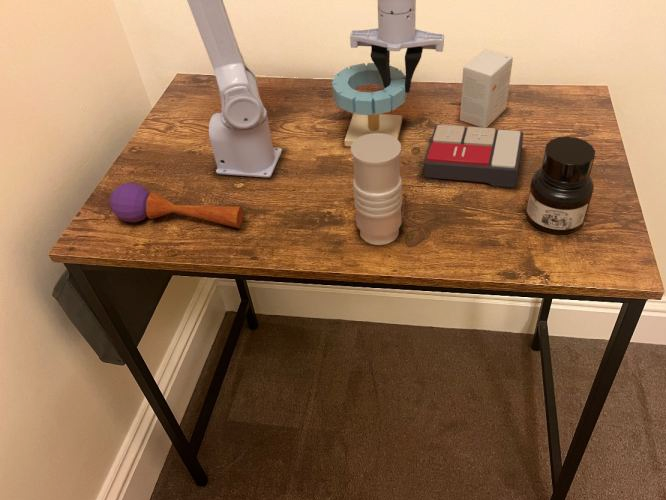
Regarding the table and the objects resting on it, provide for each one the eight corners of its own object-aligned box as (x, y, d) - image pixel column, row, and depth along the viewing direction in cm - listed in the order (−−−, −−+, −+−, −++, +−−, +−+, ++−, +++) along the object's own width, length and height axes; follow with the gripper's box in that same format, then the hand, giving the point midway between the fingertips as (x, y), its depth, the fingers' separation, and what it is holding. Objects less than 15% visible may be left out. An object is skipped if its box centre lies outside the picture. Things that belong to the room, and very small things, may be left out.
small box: (480, 101, 117) (485, 47, 110) (506, 109, 115) (514, 55, 107) (458, 120, 113) (462, 66, 105) (485, 130, 111) (491, 75, 103)
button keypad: (435, 121, 106) (524, 127, 103) (435, 142, 109) (521, 149, 106) (422, 158, 99) (518, 166, 96) (423, 180, 102) (515, 188, 99)
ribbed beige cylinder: (406, 219, 95) (406, 135, 84) (396, 250, 90) (395, 165, 79) (363, 213, 96) (357, 130, 85) (351, 243, 92) (344, 159, 81)
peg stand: (344, 146, 108) (342, 116, 104) (353, 118, 114) (351, 88, 110) (395, 149, 107) (395, 119, 103) (402, 121, 113) (402, 91, 109)
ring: (327, 112, 101) (325, 98, 99) (341, 75, 109) (340, 61, 107) (401, 117, 100) (401, 102, 98) (410, 78, 108) (410, 64, 106)
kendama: (231, 221, 90) (98, 202, 91) (238, 244, 95) (112, 227, 96) (242, 189, 93) (113, 172, 94) (248, 214, 98) (126, 197, 99)
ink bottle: (516, 227, 93) (528, 161, 84) (529, 192, 99) (541, 126, 90) (582, 242, 91) (601, 176, 82) (591, 205, 96) (610, 139, 87)
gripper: (344, 16, 91) (350, 99, 101) (442, 20, 89) (439, 104, 99) (352, -4, 96) (357, 77, 106) (446, -1, 94) (442, 81, 104)
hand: (397, 89), depth 103 cm, fingers closed on ring, 3 cm apart
